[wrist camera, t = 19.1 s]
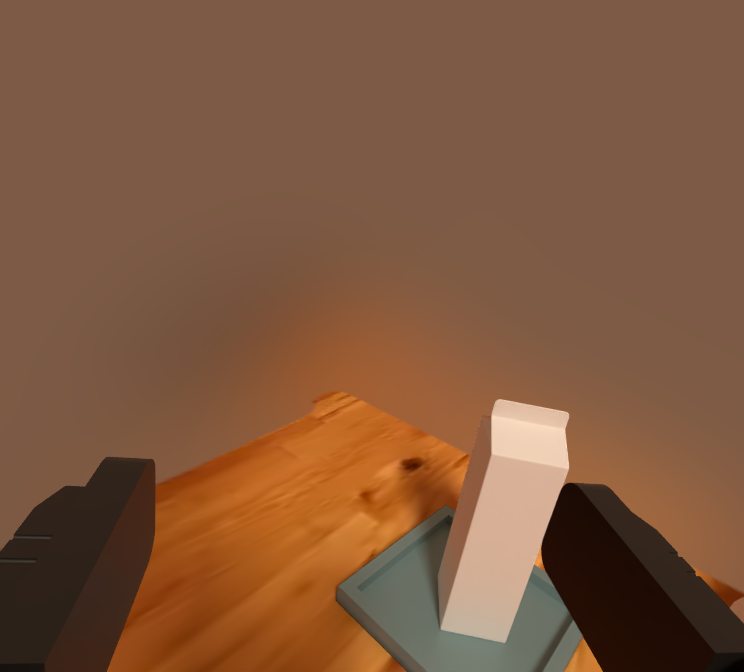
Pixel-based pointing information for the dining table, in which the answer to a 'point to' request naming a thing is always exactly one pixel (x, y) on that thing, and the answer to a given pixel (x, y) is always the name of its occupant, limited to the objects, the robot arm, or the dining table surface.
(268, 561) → the dining table surface
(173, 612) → the dining table surface
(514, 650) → the tray
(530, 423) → the milk
